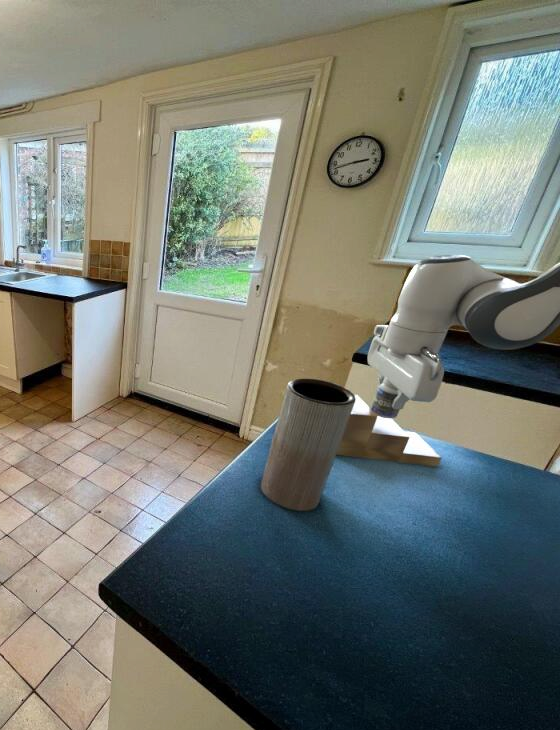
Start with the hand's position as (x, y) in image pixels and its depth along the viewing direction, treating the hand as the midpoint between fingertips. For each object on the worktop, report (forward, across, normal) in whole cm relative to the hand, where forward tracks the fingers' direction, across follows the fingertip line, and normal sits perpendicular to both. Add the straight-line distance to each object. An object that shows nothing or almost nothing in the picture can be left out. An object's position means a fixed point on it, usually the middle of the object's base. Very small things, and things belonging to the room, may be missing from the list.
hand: (388, 401), depth 88 cm
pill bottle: (+3, 0, 0) cm, 3 cm away
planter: (+13, -21, +22) cm, 33 cm away
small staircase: (+12, 0, 0) cm, 12 cm away
